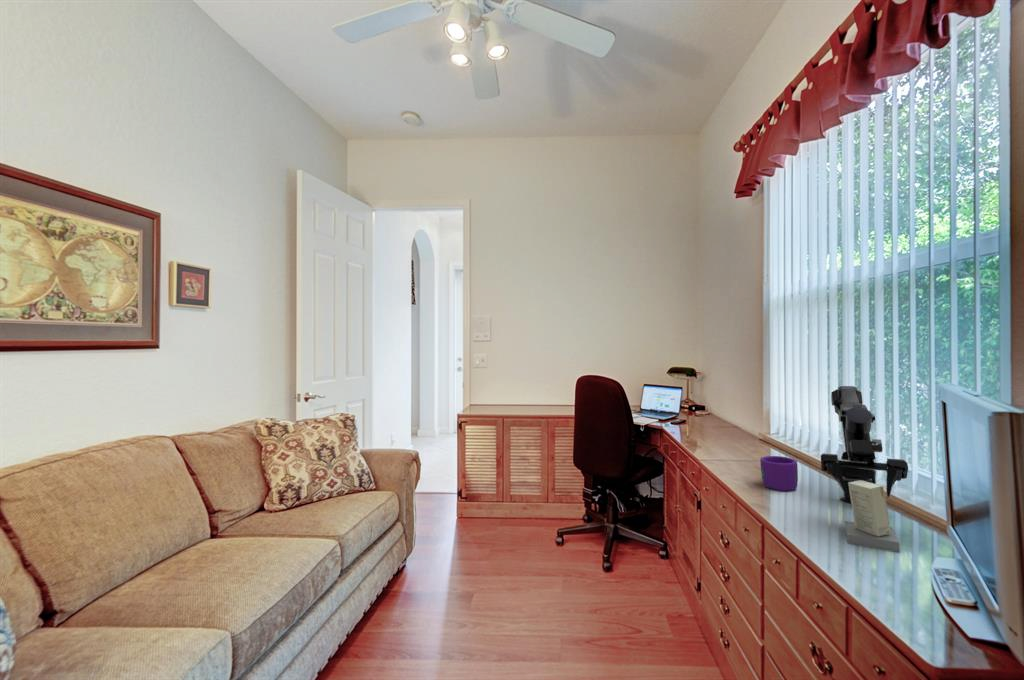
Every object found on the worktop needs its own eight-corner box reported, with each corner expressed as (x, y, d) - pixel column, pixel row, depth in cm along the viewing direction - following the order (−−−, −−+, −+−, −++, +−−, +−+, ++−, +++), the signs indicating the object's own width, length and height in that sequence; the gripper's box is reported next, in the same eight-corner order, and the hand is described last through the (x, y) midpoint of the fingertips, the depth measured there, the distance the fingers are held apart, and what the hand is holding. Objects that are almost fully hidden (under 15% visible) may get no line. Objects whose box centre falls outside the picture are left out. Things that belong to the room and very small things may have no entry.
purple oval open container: (800, 494, 146) (799, 464, 147) (762, 490, 152) (760, 462, 152) (795, 479, 162) (793, 453, 162) (760, 476, 167) (758, 451, 167)
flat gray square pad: (845, 531, 118) (844, 520, 119) (892, 538, 113) (892, 527, 113) (848, 546, 110) (847, 534, 110) (900, 554, 105) (899, 542, 105)
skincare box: (892, 534, 108) (885, 486, 109) (878, 537, 108) (871, 489, 108) (866, 524, 115) (860, 478, 115) (853, 527, 114) (847, 481, 114)
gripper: (818, 425, 125) (822, 474, 115) (904, 429, 114) (916, 483, 105) (819, 446, 131) (823, 494, 122) (900, 452, 121) (911, 504, 111)
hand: (866, 493), depth 115 cm, fingers open, 9 cm apart
